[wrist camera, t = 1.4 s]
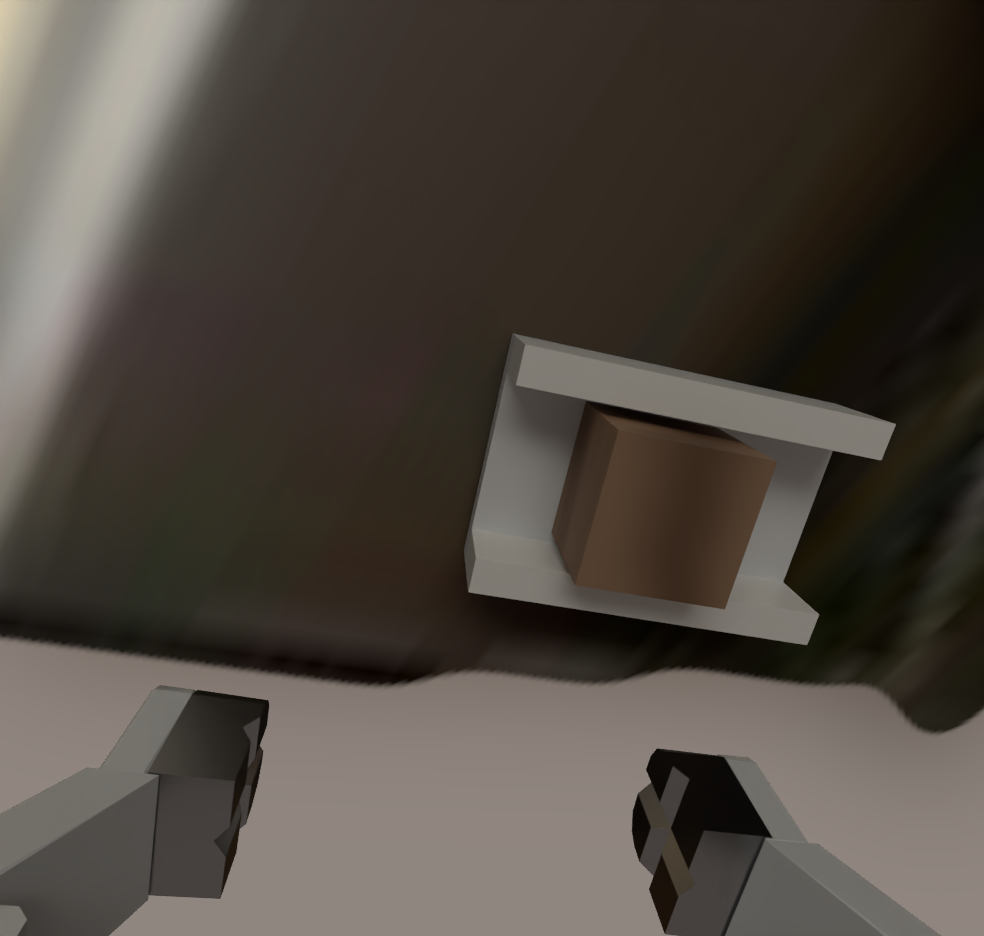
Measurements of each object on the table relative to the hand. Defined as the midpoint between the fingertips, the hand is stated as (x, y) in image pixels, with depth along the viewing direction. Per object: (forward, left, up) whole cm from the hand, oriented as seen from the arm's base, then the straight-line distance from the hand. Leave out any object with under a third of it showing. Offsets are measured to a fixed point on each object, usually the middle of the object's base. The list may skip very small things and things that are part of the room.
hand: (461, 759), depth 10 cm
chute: (+9, 0, -19) cm, 21 cm away
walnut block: (+8, 0, -18) cm, 20 cm away
